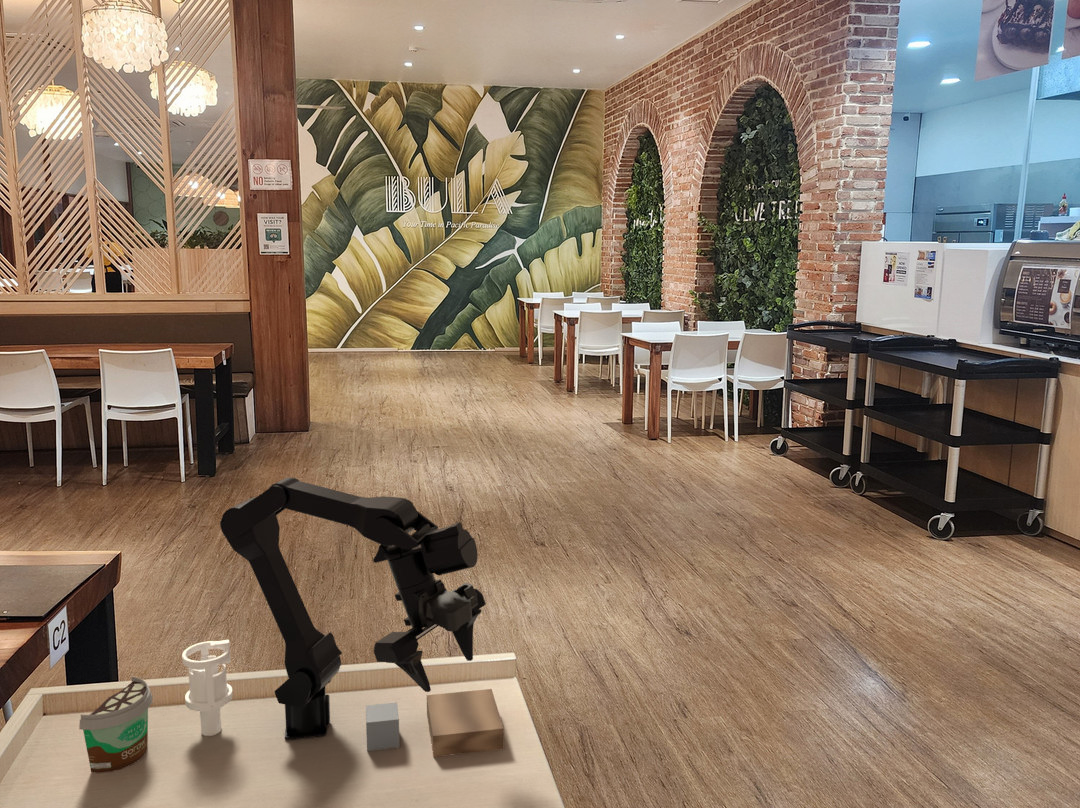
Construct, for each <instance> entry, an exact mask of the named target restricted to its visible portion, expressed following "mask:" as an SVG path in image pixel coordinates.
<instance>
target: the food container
mask: <svg viewBox="0 0 1080 808" xmlns="http://www.w3.org/2000/svg"><path fill="white" fill-rule="evenodd" d="M152 703H153V695H152V691H151V689H150V686H149V685H148V684H147V682H146V681H145V680H144V679H142V678H140V677H137V676H131V682H130V683H129V684H128V685H126V687H124V688H122V690H120V691H118V692H117V693H115V694H112V695H111V696H109V697H107V699H106V700H104V701H103V702H102V703H101V705H100V706H99V707H97V708H96V709H95V710H94V711H92V712H91V713H90V714H80V719H79V727H78V728H79V730H80V731H81V730H83V736H84V742H85V747H86V753H87V757H88V761H89V767H90V772H91V773H94V772H95V774H101V773H104V774H105V773H113V772H115V771H121V770H123V769H125V768H128V767H130V766H132V765H133V764H136V763H138V760H139V761H140V760H141V759H142V758H143V757H144V756H145V755H144V754H146V753H147V752H146V751H148V742H149V741H148V738H149V737H148V734H149V733H148V732H149V731H148V727H149V725H148V724H149V708H150V706H151V705H152ZM135 762H136V763H135Z"/></svg>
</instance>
